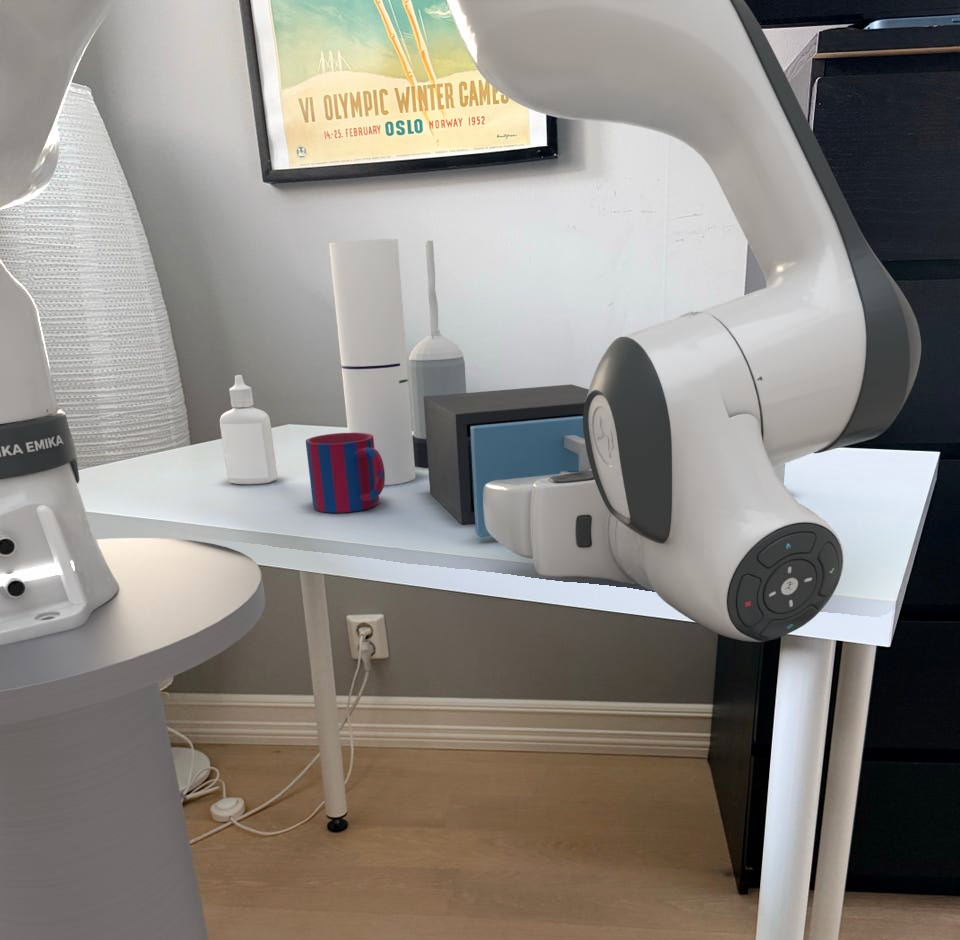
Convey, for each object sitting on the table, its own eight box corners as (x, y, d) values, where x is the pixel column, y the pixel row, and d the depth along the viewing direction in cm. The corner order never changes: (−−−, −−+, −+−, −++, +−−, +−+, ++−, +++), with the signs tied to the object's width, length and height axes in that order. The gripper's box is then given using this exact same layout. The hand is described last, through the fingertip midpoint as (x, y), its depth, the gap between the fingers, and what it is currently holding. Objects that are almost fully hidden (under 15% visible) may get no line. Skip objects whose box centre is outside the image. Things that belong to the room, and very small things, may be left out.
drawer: (684, 531, 77) (688, 419, 74) (496, 554, 74) (491, 437, 70) (599, 486, 95) (599, 393, 91) (443, 503, 91) (437, 407, 87)
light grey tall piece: (480, 453, 118) (469, 239, 108) (470, 466, 110) (457, 237, 101) (417, 455, 119) (402, 243, 109) (403, 468, 111) (385, 242, 102)
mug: (360, 494, 99) (353, 430, 96) (407, 510, 91) (402, 440, 89) (302, 505, 96) (294, 438, 93) (347, 522, 88) (339, 450, 85)
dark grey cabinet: (623, 506, 89) (624, 399, 85) (461, 524, 85) (455, 414, 82) (572, 478, 101) (571, 384, 98) (430, 493, 98) (423, 396, 94)
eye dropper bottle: (252, 487, 105) (236, 378, 100) (223, 482, 108) (207, 376, 104) (283, 480, 108) (269, 374, 103) (254, 475, 111) (239, 372, 107)
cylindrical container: (340, 480, 106) (315, 244, 97) (390, 469, 111) (370, 242, 101) (377, 488, 101) (354, 240, 92) (428, 477, 106) (411, 238, 96)
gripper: (798, 456, 64) (702, 428, 76) (515, 486, 59) (462, 451, 72) (791, 544, 66) (699, 503, 79) (518, 580, 62) (467, 530, 74)
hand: (584, 478), depth 75 cm, fingers closed on drawer, 2 cm apart
